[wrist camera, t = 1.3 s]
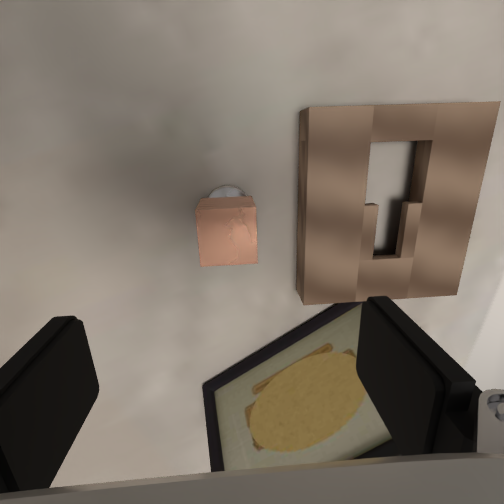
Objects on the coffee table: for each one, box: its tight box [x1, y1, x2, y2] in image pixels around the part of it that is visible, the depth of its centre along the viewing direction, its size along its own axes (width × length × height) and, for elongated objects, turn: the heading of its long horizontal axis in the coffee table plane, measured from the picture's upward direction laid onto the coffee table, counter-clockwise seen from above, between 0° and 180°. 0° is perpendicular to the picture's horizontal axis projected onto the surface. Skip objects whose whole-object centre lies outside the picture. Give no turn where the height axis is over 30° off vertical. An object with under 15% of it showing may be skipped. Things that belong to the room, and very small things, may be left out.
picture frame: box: [202, 301, 402, 472], centre depth 31 cm, size 23×9×15 cm, turn 124°
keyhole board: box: [296, 101, 501, 305], centre depth 29 cm, size 18×16×4 cm
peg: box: [195, 185, 258, 267], centre depth 25 cm, size 4×4×10 cm
